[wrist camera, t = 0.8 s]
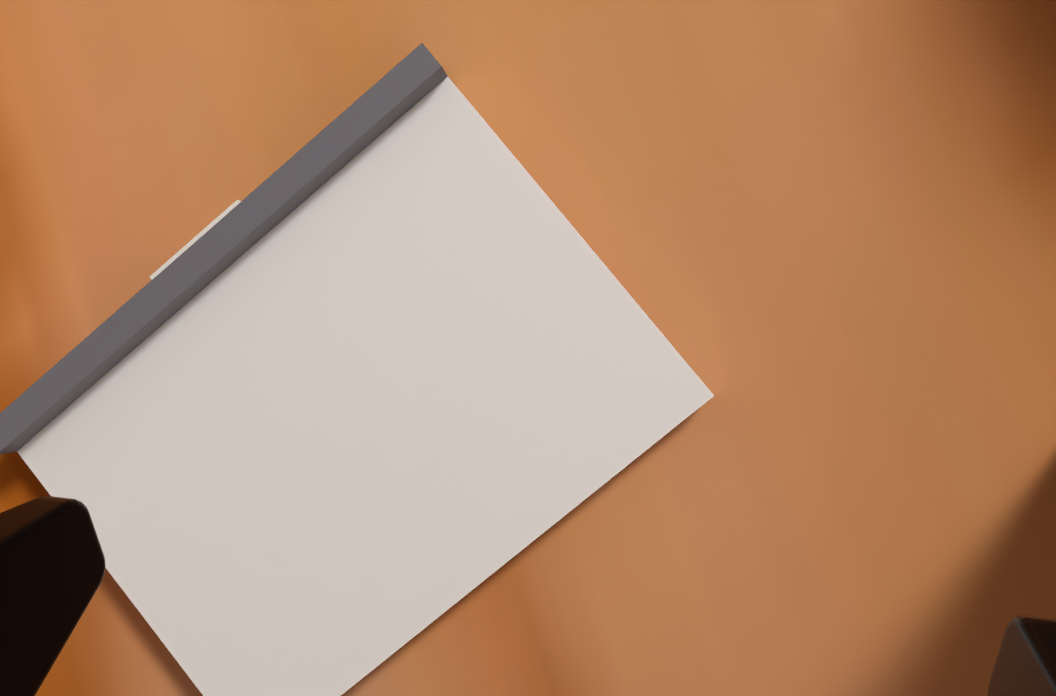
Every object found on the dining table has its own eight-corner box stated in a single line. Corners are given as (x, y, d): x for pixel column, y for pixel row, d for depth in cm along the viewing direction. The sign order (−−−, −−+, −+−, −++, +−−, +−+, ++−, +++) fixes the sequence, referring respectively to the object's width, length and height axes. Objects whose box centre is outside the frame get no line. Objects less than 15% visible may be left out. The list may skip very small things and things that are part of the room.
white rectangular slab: (709, 393, 22) (717, 397, 20) (270, 746, 24) (242, 779, 22) (432, 61, 23) (417, 36, 21) (20, 420, 24) (-27, 426, 22)
